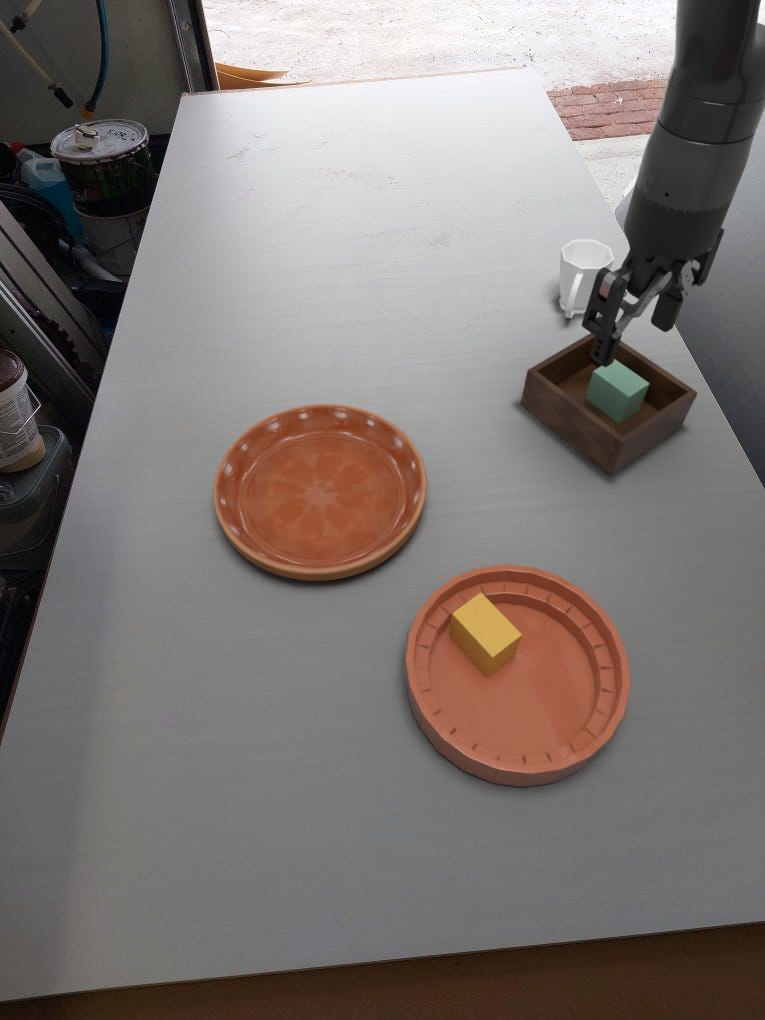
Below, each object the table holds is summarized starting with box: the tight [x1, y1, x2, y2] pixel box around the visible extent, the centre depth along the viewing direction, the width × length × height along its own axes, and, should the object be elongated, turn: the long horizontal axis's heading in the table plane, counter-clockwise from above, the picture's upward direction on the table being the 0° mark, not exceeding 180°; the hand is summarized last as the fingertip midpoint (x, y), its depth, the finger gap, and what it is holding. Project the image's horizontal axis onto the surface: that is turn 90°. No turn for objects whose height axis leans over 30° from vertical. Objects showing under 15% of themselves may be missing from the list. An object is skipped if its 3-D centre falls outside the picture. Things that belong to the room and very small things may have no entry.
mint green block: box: [585, 359, 650, 424], centre depth 82 cm, size 6×4×4 cm, turn 37°
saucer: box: [212, 403, 428, 582], centre depth 75 cm, size 23×23×4 cm
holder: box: [520, 332, 699, 477], centre depth 82 cm, size 15×13×6 cm
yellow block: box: [449, 593, 522, 677], centre depth 64 cm, size 6×4×4 cm, turn 37°
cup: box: [558, 238, 615, 319], centre depth 92 cm, size 7×10×8 cm
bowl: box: [404, 563, 631, 788], centre depth 62 cm, size 19×19×4 cm
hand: (631, 343), depth 68 cm, fingers open, 8 cm apart
